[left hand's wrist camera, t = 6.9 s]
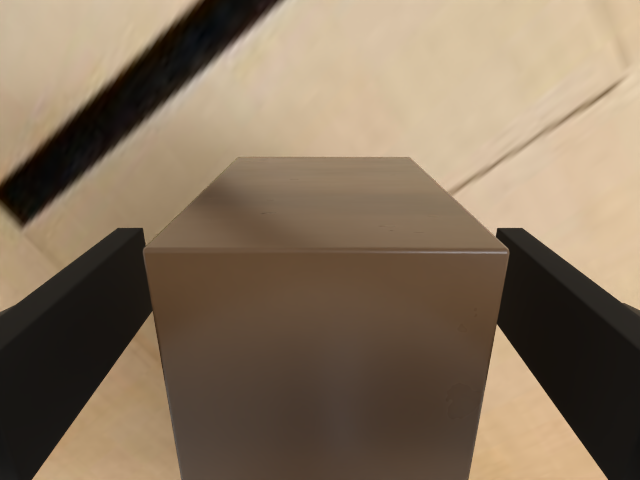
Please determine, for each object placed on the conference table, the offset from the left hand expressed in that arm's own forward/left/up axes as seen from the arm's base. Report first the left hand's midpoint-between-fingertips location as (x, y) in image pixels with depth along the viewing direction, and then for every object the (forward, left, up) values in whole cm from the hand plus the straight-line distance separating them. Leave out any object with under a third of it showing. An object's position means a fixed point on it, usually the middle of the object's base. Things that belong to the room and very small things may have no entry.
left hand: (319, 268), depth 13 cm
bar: (+9, 0, -2) cm, 9 cm away
